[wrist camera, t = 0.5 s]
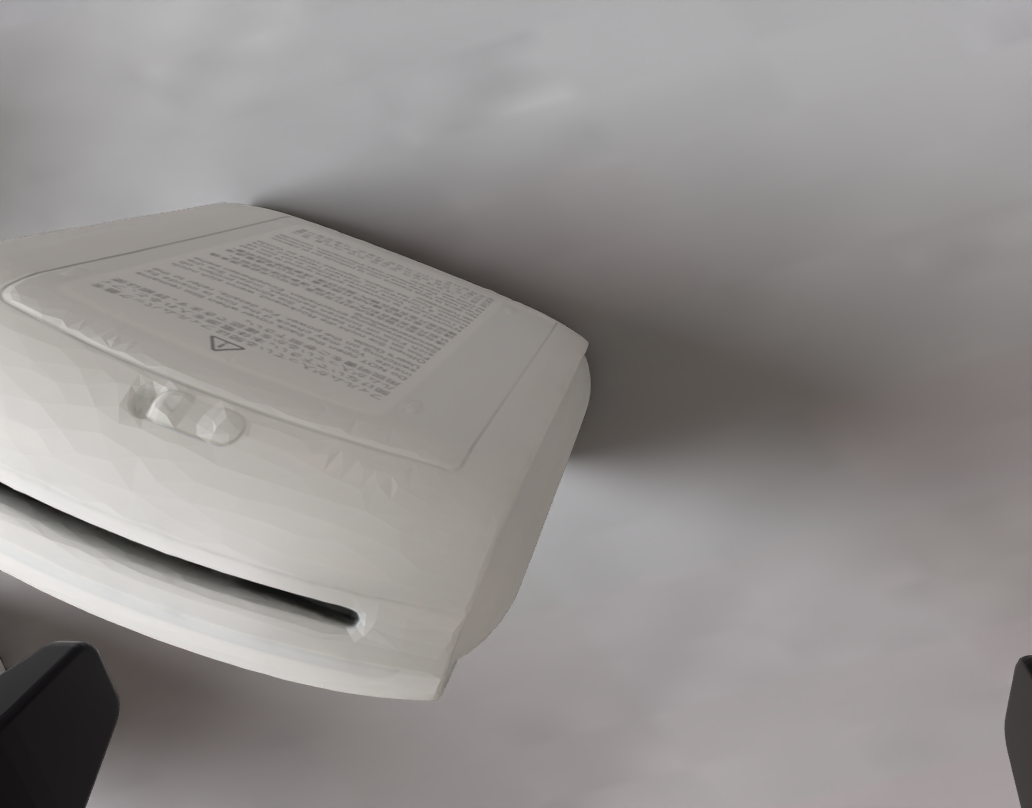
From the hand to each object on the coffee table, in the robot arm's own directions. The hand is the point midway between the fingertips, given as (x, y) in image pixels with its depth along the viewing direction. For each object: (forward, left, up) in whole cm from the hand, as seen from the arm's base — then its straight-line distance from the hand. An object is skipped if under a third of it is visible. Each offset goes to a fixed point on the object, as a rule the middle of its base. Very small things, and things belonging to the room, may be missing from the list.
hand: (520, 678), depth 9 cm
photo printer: (+2, +5, -14) cm, 15 cm away
